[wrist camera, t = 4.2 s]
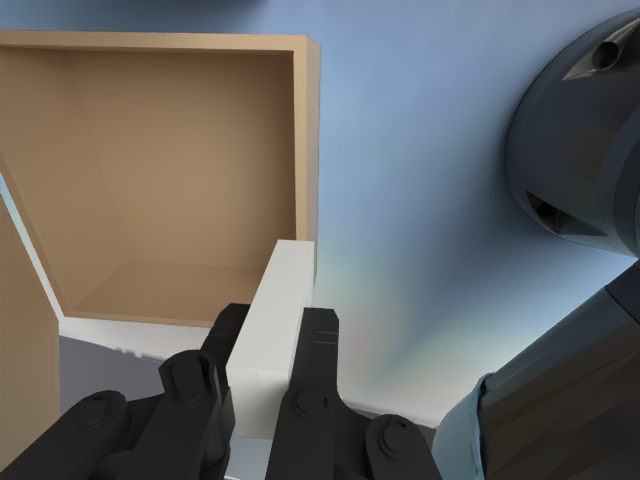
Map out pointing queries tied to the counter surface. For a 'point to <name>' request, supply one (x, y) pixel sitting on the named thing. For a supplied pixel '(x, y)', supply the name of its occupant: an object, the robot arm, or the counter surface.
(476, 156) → the counter surface
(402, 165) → the counter surface
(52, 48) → the base
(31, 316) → the mailer lid
